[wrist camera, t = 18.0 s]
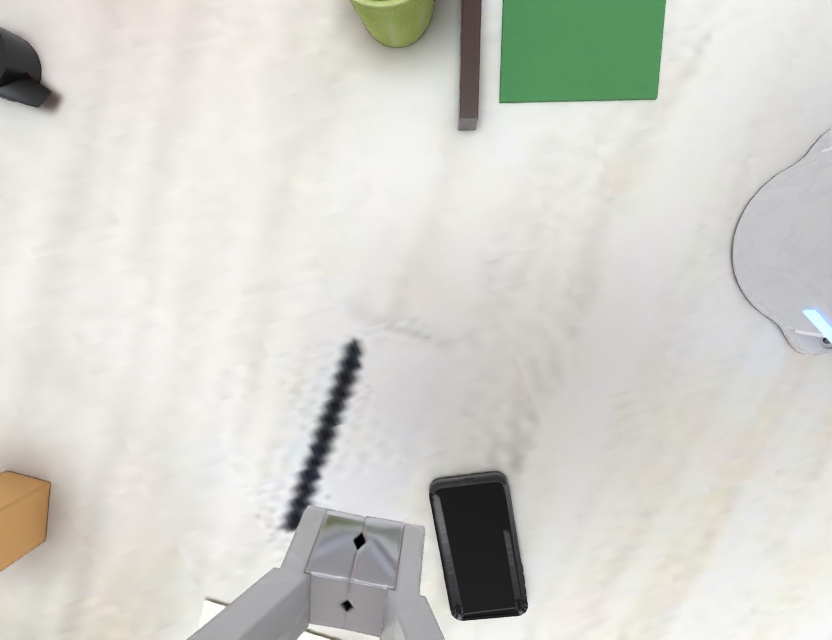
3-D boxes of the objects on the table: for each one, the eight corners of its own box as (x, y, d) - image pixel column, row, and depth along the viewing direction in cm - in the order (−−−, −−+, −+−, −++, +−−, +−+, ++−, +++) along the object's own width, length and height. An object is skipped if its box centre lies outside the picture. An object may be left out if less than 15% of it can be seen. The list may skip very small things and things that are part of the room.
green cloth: (672, -90, 31) (674, -93, 31) (655, 99, 33) (657, 97, 33) (505, -80, 32) (506, -83, 32) (499, 102, 34) (499, 101, 34)
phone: (452, 621, 40) (427, 486, 38) (452, 612, 41) (427, 480, 40) (530, 614, 40) (508, 476, 38) (528, 605, 41) (506, 470, 39)
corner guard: (481, -97, 32) (485, -133, 29) (475, 130, 35) (478, 117, 32) (314, -86, 33) (301, -120, 30) (320, 132, 36) (308, 121, 33)
